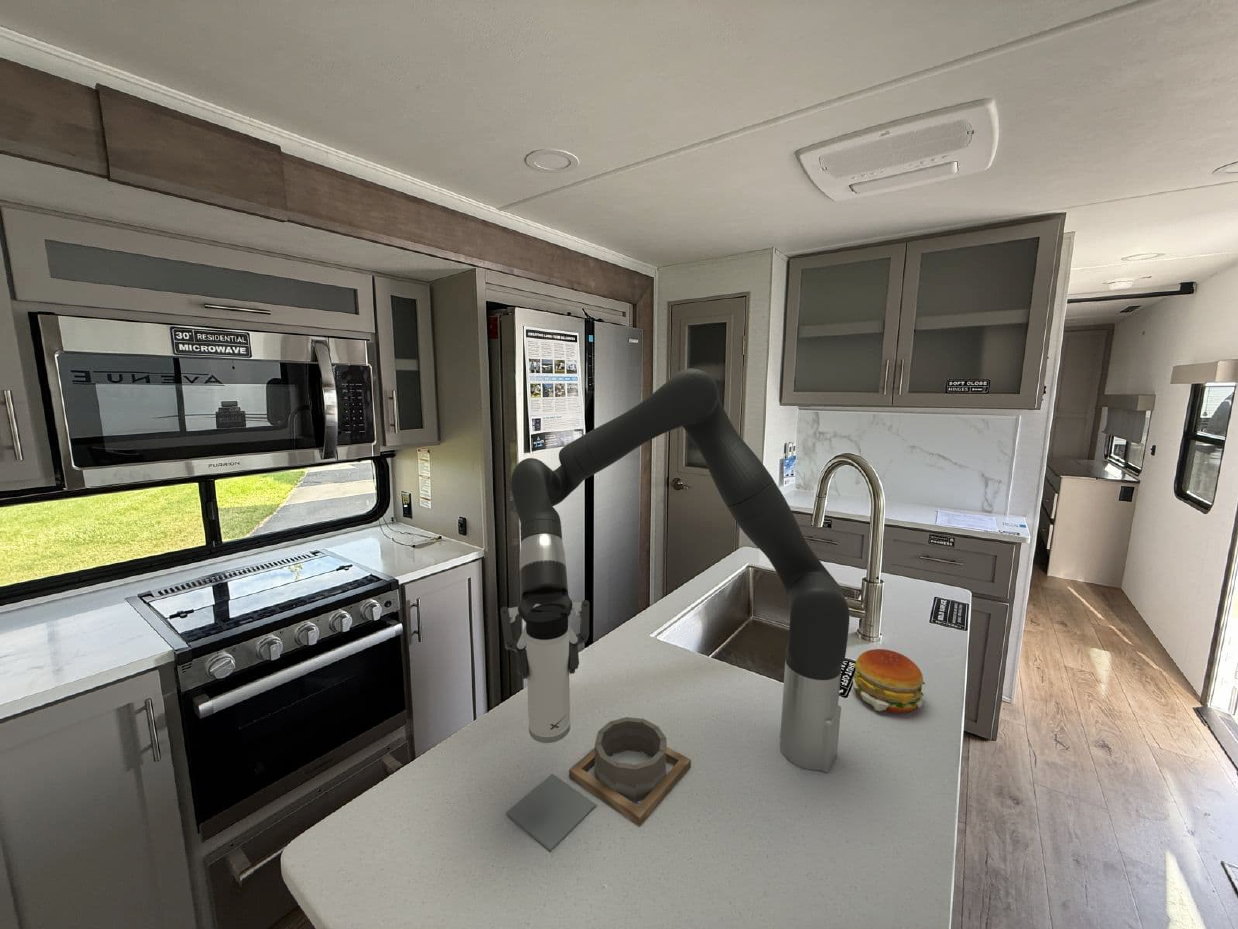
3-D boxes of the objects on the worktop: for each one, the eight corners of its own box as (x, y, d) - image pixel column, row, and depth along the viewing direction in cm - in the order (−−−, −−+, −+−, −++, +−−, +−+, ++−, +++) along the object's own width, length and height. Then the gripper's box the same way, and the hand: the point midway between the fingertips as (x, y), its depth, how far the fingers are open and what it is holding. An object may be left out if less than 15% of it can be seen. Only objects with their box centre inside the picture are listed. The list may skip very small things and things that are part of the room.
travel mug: (565, 747, 74) (563, 620, 70) (522, 741, 75) (518, 616, 71) (577, 719, 80) (575, 600, 76) (537, 713, 81) (534, 596, 77)
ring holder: (690, 767, 88) (691, 736, 87) (639, 826, 77) (640, 791, 76) (623, 729, 98) (623, 701, 96) (568, 777, 86) (568, 746, 85)
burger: (928, 697, 108) (934, 654, 106) (913, 730, 98) (918, 683, 96) (862, 672, 117) (865, 632, 115) (841, 700, 107) (845, 657, 105)
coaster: (596, 806, 80) (596, 804, 80) (550, 852, 73) (550, 849, 72) (552, 775, 86) (552, 773, 86) (505, 814, 79) (505, 812, 79)
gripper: (496, 561, 78) (497, 675, 69) (588, 555, 81) (600, 663, 72) (499, 580, 84) (499, 686, 75) (584, 573, 87) (595, 675, 78)
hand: (549, 674), depth 74 cm, fingers closed on travel mug, 6 cm apart
